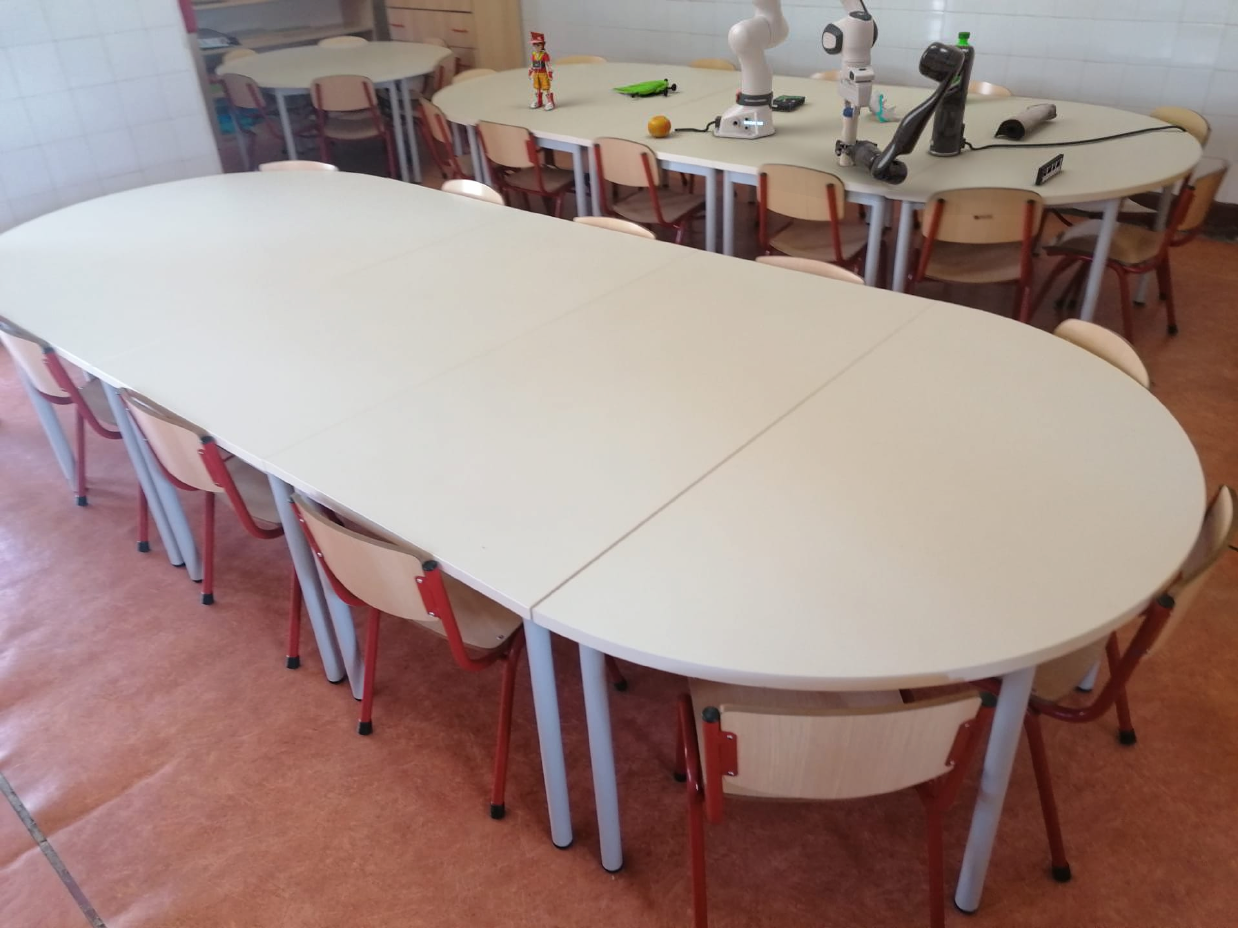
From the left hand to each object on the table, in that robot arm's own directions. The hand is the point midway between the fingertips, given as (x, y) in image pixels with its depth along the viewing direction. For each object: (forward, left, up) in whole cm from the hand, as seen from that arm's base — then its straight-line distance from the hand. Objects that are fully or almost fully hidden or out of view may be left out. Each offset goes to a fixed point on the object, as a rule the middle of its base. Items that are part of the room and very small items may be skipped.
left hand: (851, 116), depth 288 cm
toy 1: (-129, +72, -15) cm, 149 cm away
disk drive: (-27, +76, -15) cm, 82 cm away
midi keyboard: (+61, -11, -15) cm, 63 cm away
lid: (0, 0, +2) cm, 2 cm away
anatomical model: (+10, +60, -15) cm, 62 cm away
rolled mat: (+60, +45, -15) cm, 77 cm away
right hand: (-1, +2, -9) cm, 9 cm away
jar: (0, 0, -15) cm, 15 cm away
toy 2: (-92, +101, -15) cm, 138 cm away
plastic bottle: (+38, +84, -15) cm, 94 cm away
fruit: (-70, +31, -15) cm, 78 cm away
